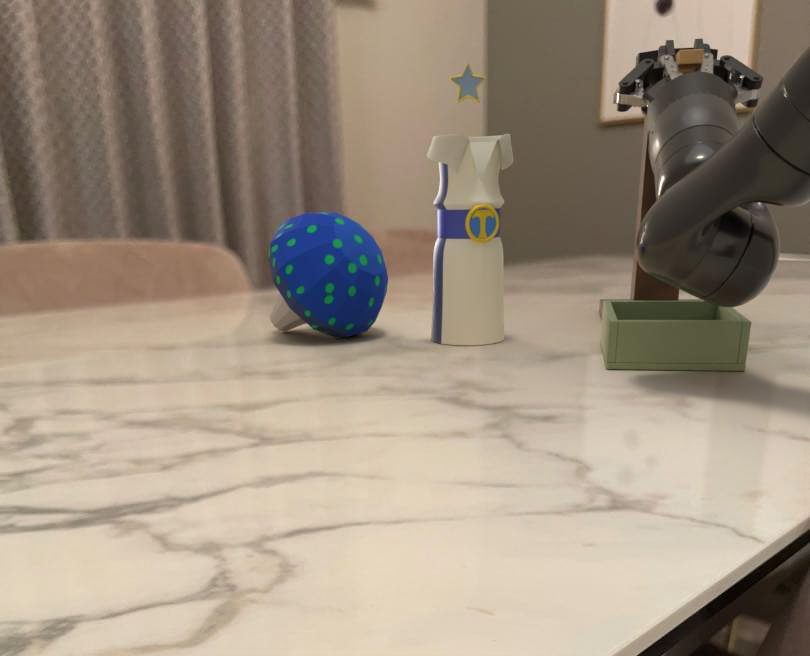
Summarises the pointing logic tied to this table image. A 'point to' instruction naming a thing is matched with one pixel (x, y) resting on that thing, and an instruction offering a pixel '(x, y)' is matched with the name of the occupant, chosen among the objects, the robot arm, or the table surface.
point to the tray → (673, 336)
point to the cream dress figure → (469, 232)
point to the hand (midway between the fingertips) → (682, 49)
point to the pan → (680, 58)
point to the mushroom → (326, 275)
